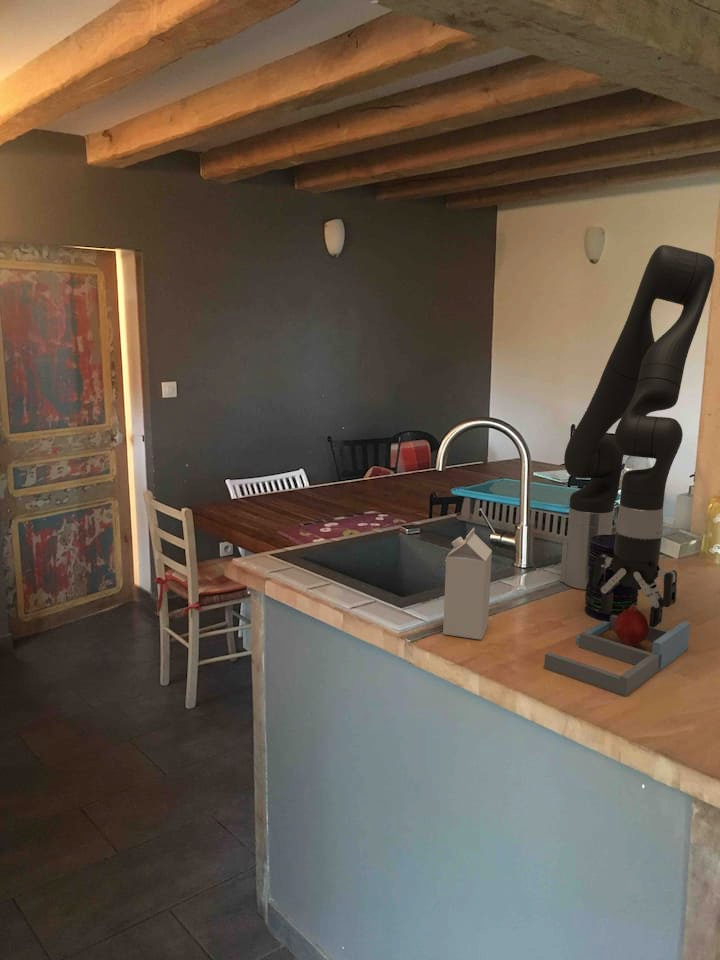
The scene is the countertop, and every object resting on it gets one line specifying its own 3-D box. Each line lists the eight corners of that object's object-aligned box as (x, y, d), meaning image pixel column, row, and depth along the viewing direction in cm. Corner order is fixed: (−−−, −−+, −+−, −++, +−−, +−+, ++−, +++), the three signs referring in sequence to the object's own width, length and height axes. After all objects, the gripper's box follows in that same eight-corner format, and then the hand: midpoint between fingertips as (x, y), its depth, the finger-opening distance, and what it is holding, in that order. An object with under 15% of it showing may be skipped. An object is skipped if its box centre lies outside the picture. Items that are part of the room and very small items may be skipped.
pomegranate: (607, 640, 140) (611, 598, 138) (638, 640, 140) (642, 598, 139) (620, 654, 134) (624, 610, 133) (652, 653, 135) (656, 610, 133)
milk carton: (488, 626, 145) (493, 529, 142) (481, 640, 139) (486, 539, 135) (451, 621, 148) (455, 525, 144) (442, 635, 141) (446, 535, 137)
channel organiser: (537, 665, 129) (539, 637, 128) (606, 625, 147) (608, 600, 146) (625, 696, 119) (628, 666, 118) (687, 649, 137) (690, 622, 136)
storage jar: (639, 610, 155) (646, 539, 152) (631, 626, 147) (638, 551, 144) (589, 601, 160) (595, 531, 157) (578, 616, 151) (584, 543, 148)
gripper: (590, 526, 135) (582, 613, 138) (670, 544, 125) (660, 637, 129) (610, 519, 140) (602, 603, 144) (688, 535, 131) (678, 625, 134)
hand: (629, 619), depth 136 cm, fingers open, 8 cm apart
